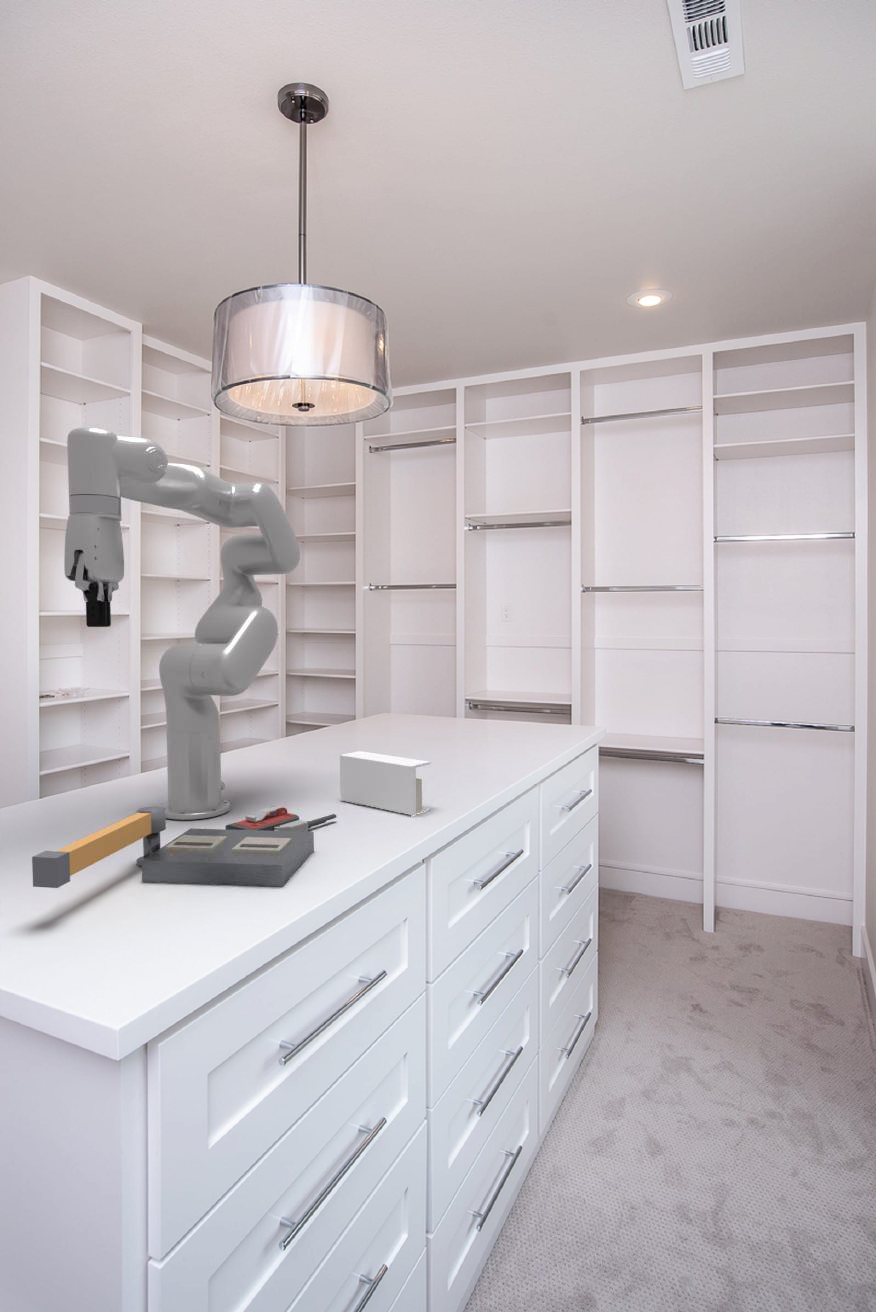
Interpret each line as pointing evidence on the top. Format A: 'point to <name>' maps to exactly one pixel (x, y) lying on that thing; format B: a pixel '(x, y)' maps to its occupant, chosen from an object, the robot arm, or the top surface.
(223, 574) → the robot arm
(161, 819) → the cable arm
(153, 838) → the pivot post
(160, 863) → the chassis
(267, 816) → the walkie-talkie
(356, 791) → the cigarette display
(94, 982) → the top surface
